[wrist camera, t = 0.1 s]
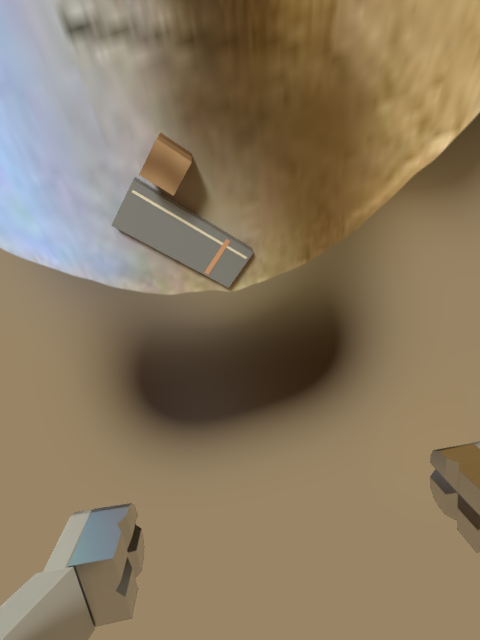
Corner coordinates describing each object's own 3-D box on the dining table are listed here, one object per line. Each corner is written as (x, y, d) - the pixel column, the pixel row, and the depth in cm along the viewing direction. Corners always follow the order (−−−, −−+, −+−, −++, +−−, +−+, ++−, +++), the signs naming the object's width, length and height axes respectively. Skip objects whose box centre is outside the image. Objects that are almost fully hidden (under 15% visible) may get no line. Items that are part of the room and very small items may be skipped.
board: (135, 177, 52) (133, 180, 50) (251, 248, 61) (253, 252, 59) (113, 221, 55) (111, 225, 53) (227, 282, 64) (228, 288, 62)
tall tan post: (160, 132, 49) (156, 138, 42) (191, 153, 51) (191, 162, 44) (145, 164, 51) (139, 174, 44) (175, 183, 53) (173, 195, 46)
